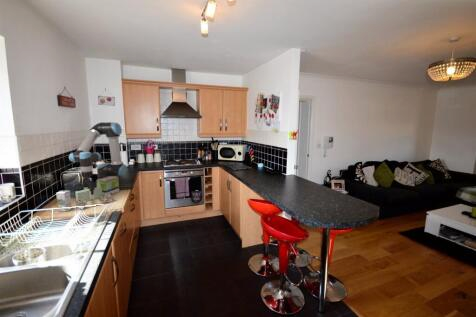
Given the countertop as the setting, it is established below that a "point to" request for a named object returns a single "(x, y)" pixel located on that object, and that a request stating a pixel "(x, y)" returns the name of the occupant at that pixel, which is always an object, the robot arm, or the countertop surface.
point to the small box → (73, 188)
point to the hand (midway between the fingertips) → (89, 196)
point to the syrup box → (63, 200)
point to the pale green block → (86, 194)
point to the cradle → (95, 201)
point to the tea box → (109, 184)
